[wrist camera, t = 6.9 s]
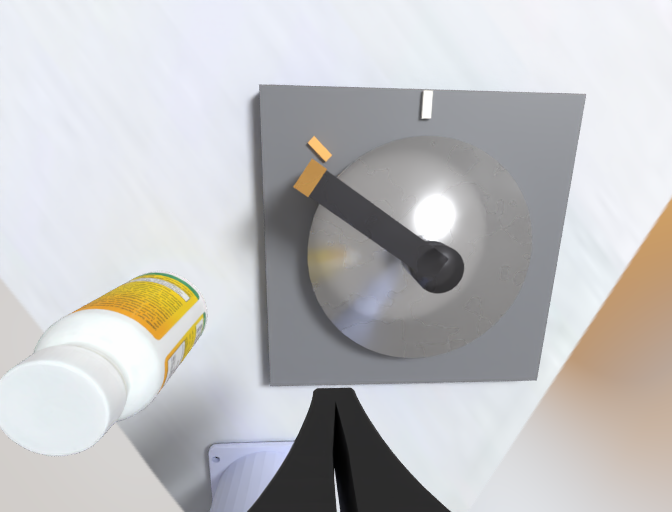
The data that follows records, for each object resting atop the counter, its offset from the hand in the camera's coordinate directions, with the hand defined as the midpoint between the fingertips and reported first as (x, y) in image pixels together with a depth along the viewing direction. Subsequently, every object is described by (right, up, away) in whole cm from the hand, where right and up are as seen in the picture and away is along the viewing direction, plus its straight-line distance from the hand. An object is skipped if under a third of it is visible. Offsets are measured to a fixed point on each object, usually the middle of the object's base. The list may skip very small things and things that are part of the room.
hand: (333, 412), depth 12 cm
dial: (+4, +6, +8) cm, 11 cm away
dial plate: (+5, +6, +10) cm, 12 cm away
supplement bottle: (-11, +2, +10) cm, 15 cm away
